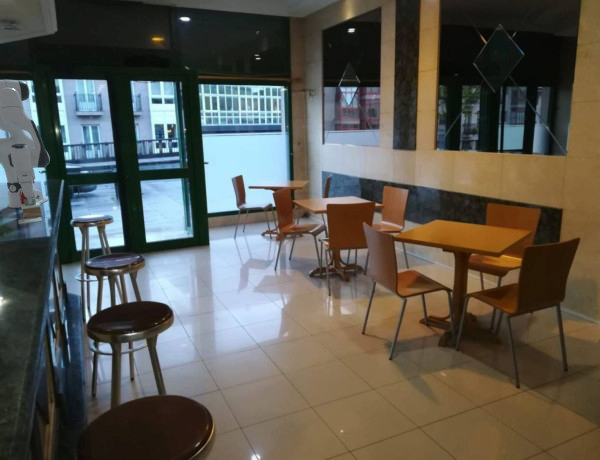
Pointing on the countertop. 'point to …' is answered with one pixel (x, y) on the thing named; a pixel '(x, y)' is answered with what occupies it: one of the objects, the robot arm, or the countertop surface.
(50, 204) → the countertop surface
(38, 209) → the crate
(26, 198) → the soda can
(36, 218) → the mat
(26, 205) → the lid
